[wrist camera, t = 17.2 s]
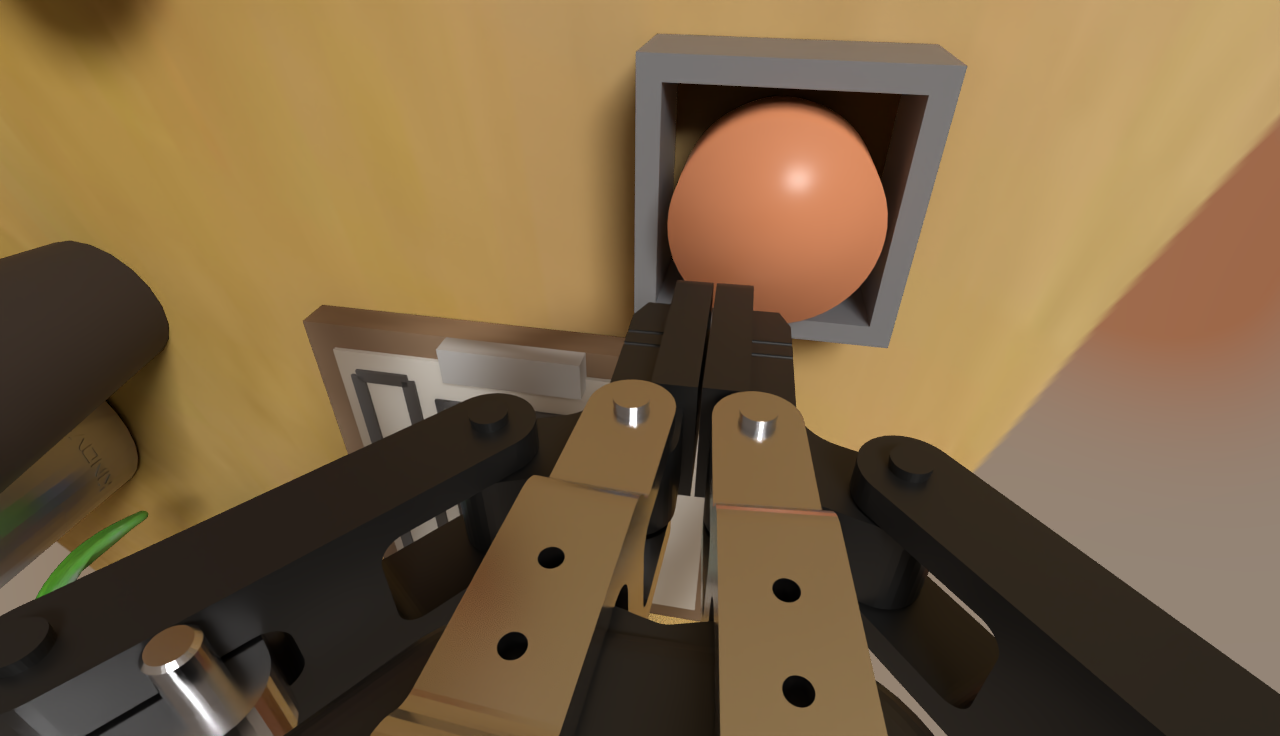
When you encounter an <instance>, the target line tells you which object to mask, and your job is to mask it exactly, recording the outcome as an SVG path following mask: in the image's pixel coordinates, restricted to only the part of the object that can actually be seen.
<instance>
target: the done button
mask: <svg viewBox="0 0 1280 736" xmlns="http://www.w3.org/2000/svg"><path fill="white" fill-rule="evenodd" d="M887 220H888V211H887V203H886V197H885V193H884V190H883V186H882V183H881V181H880V178H879V176H878V173H877V171H876V168H875V165H874V163H873V160H872V158H871V155H870V153H869V151H868V149H867V146H866V144H865V143H864V141H863V139H862V138H861V136H860V135H859V133H858V132H857V131H856V130H855V129H854V128H853V126H852V125H851V124H850V123H849V122H848V121H846V120H845V119H844V118H843V117H842V116H841V115H839V114H838V113H836V112H834V111H833V110H831V109H830V108H828V107H825V106H823V105H821V104H818V103H816V102H813V101H809V100H805V99H802V98H798V97H790V96H773V97H767V98H762V99H758V100H755V101H752V102H750V103H747V104H744V105H742V106H740V107H738V108H735V109H733V110H732V111H730V112H729V113H727V114H725V115H724V116H722V117H721V118H720V119H718V120H717V121H716V122H715V123H713V124H712V125H711V126H710V127H709V128H708V129H707V130H706V131H705V132H704V133H703V134H702V136H701V137H700V139H699V140H698V141H697V143H696V144H695V145H694V147H693V149H692V151H691V153H690V154H689V156H688V159H687V161H686V164H685V166H684V169H683V171H682V173H681V176H680V178H679V181H678V183H677V186H676V188H675V191H674V193H673V196H672V199H671V203H670V207H669V213H668V223H667V224H668V240H669V246H670V250H671V253H672V257H673V260H674V262H675V264H676V266H677V269H678V271H679V273H680V274H681V276H682V277H683V279H684V280H685V281H698V282H711V283H714V291H713V304H712V307H713V308H714V300H715V293H716V286H717V283H725V284H738V285H751V286H754V301H753V311H764V312H777V313H780V315H781V316H782V317H783V318H784V319H785V321H786V322H787V323H792V322H798V321H802V320H805V319H809V318H812V317H815V316H817V315H820V314H822V313H824V312H826V311H828V310H830V309H832V308H833V307H835V306H837V305H838V304H840V303H841V302H843V301H844V300H845V299H847V298H848V297H849V296H850V295H851V294H852V293H854V292H855V291H856V290H857V289H858V288H859V287H860V285H861V284H862V283H863V282H864V281H865V280H866V278H867V277H868V276H869V274H870V273H871V271H872V269H873V268H874V266H875V264H876V262H877V260H878V258H879V256H880V254H881V251H882V248H883V245H884V242H885V237H886V231H887Z"/></svg>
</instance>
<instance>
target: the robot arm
mask: <svg viewBox="0 0 1280 736" xmlns="http://www.w3.org/2000/svg"><path fill="white" fill-rule="evenodd" d="M713 291H714V283H711V282H698V281H685V280H677V282H676V286H675V290H674V294H673V298H672V302H671V304H665V303H653V302H648V303H647V304H646V305H644V306H643V307H642V308H641V309H640V310H638V311H637V312H636V313H635V314H634V315H633V318H632V321H631V323H630V326H629V330H628V332H627V335H626V338H625V341H624V344H623V347H622V349H621V352H620V355H619V358H618V361H617V364H616V367H615V370H614V373H613V375H612V378H611V381H610V383H609V384H606V385H604V386H602V387H600V388H599V389H597V390H596V391H595V392H594V393H593V394H592V395H591V397H590V398H589V400H588V402H587V404H586V406H585V408H584V410H583V411H580V412H577V413H573V414H569V415H563V416H555V417H546V418H538V419H536V413H535V410H534V408H533V407H532V405H531V404H530V403H529V402H528V401H526V400H525V399H523V398H521V397H518V396H515V395H511V394H505V393H491V394H484V395H479V396H476V397H472V398H470V399H467V400H465V401H463V402H461V403H458V404H456V405H454V406H452V407H450V408H448V409H445V410H443V411H441V412H439V413H437V414H435V415H433V416H430V417H428V418H426V419H424V420H422V421H420V422H417V423H415V424H413V425H411V426H409V427H407V428H404V429H402V430H400V431H398V432H396V433H394V434H391V435H389V436H387V437H385V438H383V439H381V440H378V441H376V442H374V443H372V444H370V445H368V446H365V447H363V448H361V449H359V450H357V451H355V452H352V453H350V454H348V455H346V456H344V457H342V458H339V459H337V460H335V461H333V462H331V463H329V464H327V465H324V466H322V467H320V468H318V469H316V470H314V471H311V472H309V473H307V474H305V475H303V476H301V477H298V478H296V479H294V480H292V481H290V482H288V483H285V484H283V485H281V486H279V487H277V488H275V489H272V490H270V491H268V492H266V493H264V494H262V495H259V496H257V497H255V498H253V499H251V500H249V501H246V502H244V503H242V504H240V505H238V506H236V507H234V508H231V509H229V510H227V511H225V512H223V513H221V514H218V515H216V516H214V517H212V518H210V519H208V520H205V521H203V522H201V523H199V524H197V525H195V526H192V527H190V528H188V529H186V530H184V531H182V532H179V533H177V534H175V535H173V536H171V537H169V538H166V539H164V540H162V541H160V542H158V543H156V544H153V545H151V546H149V547H147V548H145V549H143V550H141V551H138V552H136V553H134V554H132V555H130V556H128V557H125V558H123V559H121V560H119V561H117V562H115V563H112V564H110V565H108V566H106V567H104V568H102V569H99V570H97V571H95V572H93V573H91V574H89V575H86V576H84V577H82V578H80V579H78V580H76V581H73V582H71V583H69V584H67V585H65V586H63V587H60V588H58V589H56V590H54V591H52V592H50V593H48V594H45V595H43V596H41V597H39V598H37V599H35V600H32V601H30V602H28V603H26V604H24V605H22V606H19V607H17V608H15V609H13V610H11V611H9V612H8V613H6V614H3V615H2V616H0V736H934V735H933V734H932V732H931V731H930V730H929V729H928V728H927V727H926V725H925V724H924V723H923V722H922V721H921V720H920V719H919V718H918V716H917V715H916V714H915V713H914V712H912V710H910V709H909V708H908V707H907V706H906V705H905V704H904V703H903V702H902V701H901V700H900V699H899V698H898V697H896V696H895V695H894V694H893V693H892V692H890V691H889V690H888V689H887V688H885V687H884V686H883V685H881V684H880V683H879V682H877V681H876V680H875V677H874V672H873V668H872V663H871V659H870V654H869V650H868V648H869V649H870V650H871V652H872V653H873V654H874V655H875V656H876V657H877V658H878V659H879V660H880V662H881V663H882V664H883V665H884V666H885V667H886V668H887V669H888V670H889V671H890V673H891V674H892V675H893V676H894V677H895V678H896V679H897V680H898V681H899V683H901V684H902V686H903V687H904V688H905V689H906V690H907V691H908V692H909V694H910V695H911V696H912V697H913V698H914V699H915V700H916V701H917V702H918V703H919V705H920V706H921V707H922V708H923V709H924V710H925V711H926V712H927V713H928V715H929V716H930V717H931V718H932V719H933V720H934V721H935V722H936V723H937V725H938V726H939V727H940V728H941V729H942V730H943V731H944V732H945V733H946V734H947V735H948V736H1280V694H1279V693H1277V692H1276V691H1275V690H1273V689H1272V688H1271V687H1269V686H1268V685H1266V684H1265V683H1264V682H1262V681H1261V680H1259V679H1258V678H1257V677H1255V676H1254V675H1252V674H1251V673H1250V672H1248V671H1247V670H1246V669H1244V668H1243V667H1241V666H1240V665H1239V664H1237V663H1236V662H1234V661H1233V660H1231V659H1230V658H1229V657H1228V656H1226V655H1225V654H1223V653H1222V652H1221V651H1219V650H1218V649H1216V648H1215V647H1214V646H1212V645H1211V644H1209V643H1208V642H1207V641H1205V640H1204V639H1203V638H1201V637H1200V636H1198V635H1197V634H1196V633H1194V632H1193V631H1191V630H1190V629H1189V628H1187V627H1186V626H1184V625H1183V624H1181V623H1180V622H1179V621H1177V620H1176V619H1175V618H1173V617H1172V616H1171V615H1169V614H1168V613H1166V612H1165V611H1164V610H1162V609H1161V608H1159V607H1158V606H1156V605H1155V604H1154V603H1152V602H1151V601H1150V600H1148V599H1147V598H1145V597H1144V596H1143V595H1141V594H1140V593H1139V592H1137V591H1136V590H1134V589H1133V588H1132V587H1130V586H1129V585H1128V584H1126V583H1125V582H1123V581H1122V580H1121V579H1119V578H1117V577H1116V576H1115V575H1114V574H1112V573H1111V572H1109V571H1108V570H1107V569H1105V568H1104V567H1103V566H1101V565H1100V564H1098V563H1097V562H1096V561H1094V560H1093V559H1091V558H1090V557H1089V556H1087V555H1086V554H1084V553H1083V552H1082V551H1080V550H1079V549H1078V548H1076V547H1075V546H1073V545H1072V544H1070V543H1069V542H1068V541H1066V540H1065V539H1063V538H1062V537H1061V536H1059V535H1058V534H1056V533H1055V532H1054V531H1052V530H1051V529H1050V528H1048V527H1047V526H1046V525H1044V524H1043V523H1041V522H1040V521H1039V520H1037V519H1036V518H1034V517H1033V516H1032V515H1030V514H1029V513H1028V512H1026V511H1025V510H1023V509H1022V508H1021V507H1019V506H1018V505H1016V504H1015V503H1014V502H1012V501H1011V500H1009V499H1008V498H1007V497H1005V496H1004V495H1003V494H1001V493H1000V492H998V491H997V490H996V489H994V488H992V487H991V486H990V485H989V484H987V483H986V482H984V481H983V480H982V479H980V478H979V477H977V476H976V475H975V474H973V473H972V472H971V471H969V470H968V469H966V468H965V467H964V466H962V465H961V464H959V463H958V462H957V461H955V460H954V459H952V458H951V457H950V456H948V455H947V454H946V453H944V452H943V451H941V450H940V449H938V448H936V447H934V446H932V445H930V444H928V443H926V442H923V441H921V440H917V439H914V438H910V437H904V436H882V437H877V438H874V439H871V440H870V441H868V442H866V443H865V444H864V445H863V446H862V447H861V448H860V450H859V452H856V451H853V450H850V449H847V448H844V447H841V446H838V445H836V444H833V443H830V442H828V441H826V440H824V439H822V438H820V437H819V436H817V435H815V434H814V433H813V432H811V431H810V430H809V429H808V428H807V427H806V426H805V422H804V419H803V416H802V414H801V413H800V411H799V410H798V409H797V408H796V398H795V383H794V367H793V351H792V336H791V327H790V326H789V324H788V323H787V322H786V321H785V319H784V318H783V317H782V316H781V315H780V313H777V312H764V311H753V301H754V286H751V285H738V284H725V283H717V286H716V293H715V300H714V308H713V315H712V304H713ZM711 317H712V322H711ZM698 436H699V440H698ZM697 443H698V453H697V467H696V481H695V494H694V497H702V498H705V501H704V512H703V524H702V536H701V622H696V623H685V624H674V625H665V624H659V623H656V622H654V621H651V620H649V619H648V616H649V612H650V608H651V605H652V601H653V597H654V593H655V589H656V585H657V581H658V578H659V574H660V570H661V566H662V562H663V558H664V554H665V551H666V547H667V543H668V539H669V535H670V529H671V519H672V517H673V516H674V512H675V508H676V502H677V495H684V496H691V488H692V481H693V473H694V466H695V458H696V451H697ZM137 464H138V455H137V451H136V446H135V443H134V441H133V439H132V437H131V435H130V433H129V431H128V429H127V427H126V426H125V425H124V423H123V422H122V420H121V419H120V417H119V416H118V415H117V413H116V412H115V411H114V410H113V409H112V408H111V407H110V406H109V404H108V403H107V402H106V401H104V402H103V403H102V404H101V405H100V406H99V407H98V408H96V409H95V410H94V411H93V412H92V413H91V414H90V415H89V416H87V417H86V418H85V419H84V420H83V421H82V422H81V423H80V424H78V425H77V426H76V427H75V428H74V429H73V430H72V431H71V432H69V433H68V434H67V435H66V436H65V437H64V438H63V439H62V440H60V441H59V442H58V443H57V444H56V445H55V446H54V447H53V448H51V449H50V450H49V451H48V452H47V453H46V454H45V455H44V456H42V457H41V458H40V459H39V460H38V461H37V462H36V463H35V464H33V465H32V466H31V467H30V468H29V469H28V470H27V471H26V472H24V473H23V474H22V475H21V476H20V477H19V478H18V479H16V480H15V481H14V482H13V483H12V484H11V485H10V486H9V487H7V488H6V489H5V490H4V491H3V492H2V493H1V494H0V588H1V587H3V586H4V585H5V584H6V583H7V582H9V581H10V580H11V579H12V578H13V577H14V576H16V575H17V574H18V573H19V572H20V571H22V570H23V569H24V568H25V567H26V566H27V565H29V564H30V563H31V562H32V561H33V560H35V559H36V558H37V557H38V556H39V555H40V554H41V553H43V552H44V551H45V550H46V549H48V548H49V547H50V546H51V545H52V544H53V543H55V542H56V541H57V540H58V539H60V538H61V537H62V536H63V535H64V534H65V533H67V532H68V531H69V530H70V529H71V528H73V527H74V526H75V525H76V524H77V523H78V522H80V521H81V520H82V519H83V518H84V517H86V516H87V515H88V514H89V513H90V512H91V511H93V510H94V509H95V508H96V507H97V506H99V505H100V504H101V503H102V502H103V501H105V500H106V499H107V498H108V497H109V496H110V495H112V494H113V493H114V492H115V491H116V490H118V489H119V488H120V487H121V486H122V485H123V484H125V483H126V482H127V481H128V480H129V479H131V478H132V477H133V475H134V473H135V471H136V470H137ZM459 503H460V505H461V510H462V515H460V516H458V517H456V518H455V519H453V520H451V521H449V522H448V523H446V524H444V525H442V526H441V527H439V528H437V529H435V530H434V531H432V532H430V533H428V534H427V535H425V536H423V537H421V538H420V539H418V540H416V541H414V542H413V543H411V544H409V545H408V546H406V547H404V548H402V549H401V550H399V551H397V552H395V553H394V554H392V555H390V556H388V557H387V558H385V559H383V556H384V553H385V552H386V550H387V549H388V547H389V546H390V545H391V544H392V543H393V542H394V541H395V540H396V539H398V538H399V537H400V536H402V535H404V534H406V533H407V532H409V531H411V530H413V529H414V528H416V527H418V526H420V525H422V524H423V523H425V522H427V521H429V520H430V519H432V518H434V517H436V516H438V515H439V514H441V513H443V512H445V511H447V510H448V509H450V508H452V507H454V506H455V505H457V504H459ZM382 559H383V560H382ZM928 572H930V573H932V574H933V575H934V576H935V577H936V578H937V579H938V580H939V581H941V582H942V583H943V584H944V585H945V586H946V587H947V588H948V589H949V590H950V591H952V592H953V593H954V594H955V595H956V596H957V597H958V598H959V599H960V600H962V601H963V602H964V603H965V604H966V605H967V606H968V607H969V608H970V609H972V610H973V611H974V612H975V613H976V614H977V615H978V616H979V617H980V618H981V619H982V620H983V621H984V622H985V623H986V624H987V625H988V627H989V628H990V630H991V631H992V633H993V634H994V636H995V637H994V636H993V635H991V634H990V633H989V632H988V631H987V630H986V629H985V628H984V627H983V626H982V625H981V624H980V623H978V622H977V621H976V620H975V619H974V618H973V617H972V616H971V615H970V614H969V613H967V612H966V611H965V610H964V609H963V608H962V607H961V606H960V605H959V604H957V603H956V602H955V601H954V600H953V599H952V598H951V597H950V596H949V595H948V594H947V593H945V592H944V591H943V590H942V589H941V588H940V587H939V586H938V585H937V584H936V583H935V582H933V581H932V580H931V579H930V578H929V577H928V576H927V575H928Z"/></svg>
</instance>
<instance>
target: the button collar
mask: <svg viewBox="0 0 1280 736" xmlns="http://www.w3.org/2000/svg"><path fill="white" fill-rule="evenodd" d="M966 69H967V65H965V64H964V63H963V62H961V61H960V60H959V59H957V58H956V57H955V56H953V55H952V54H951V53H949V52H948V51H947V50H945V49H944V48H943V47H941V46H940V45H938V44H915V43H889V42H863V41H836V40H810V39H783V38H757V37H731V36H704V35H678V34H656V35H655V36H654V37H653V38H652V39H650V40H649V41H648V42H647V43H646V44H645V45H643V46H642V47H641V48H640V49H639V50H638V51H636V116H635V267H634V314H635V313H636V312H637V311H638V310H640V309H641V308H642V307H643V306H644V305H646V304H647V303H648V302H653V303H665V304H671V302H672V298H673V294H674V290H675V286H676V282H677V280H684V279H683V277H682V276H681V274H680V273H679V271H678V269H677V266H676V264H675V262H674V260H670V259H671V250H670V246H669V240H668V224H667V223H668V213H669V207H670V203H671V199H672V196H673V188H674V165H675V141H676V117H677V94H678V83H689V84H710V85H730V86H751V87H771V88H791V89H812V90H832V91H853V92H873V93H894V94H901V96H900V101H899V105H898V109H897V114H896V118H895V122H894V127H893V131H892V135H891V139H890V144H889V148H888V152H887V157H886V161H885V165H884V170H883V174H882V178H881V183H882V186H883V190H884V193H885V197H886V203H887V211H888V220H887V231H886V237H885V242H884V245H883V248H882V251H881V254H880V256H879V258H878V260H877V262H876V264H875V266H874V268H873V269H872V271H871V273H870V274H869V276H868V277H867V278H866V280H865V281H864V282H863V283H862V284H861V285H860V287H859V288H858V289H857V290H856V291H855V292H854V293H852V294H851V295H850V296H849V297H848V298H847V299H845V300H844V301H843V302H841V303H840V304H838V305H837V306H835V307H833V308H832V309H830V310H828V311H826V312H824V313H822V314H820V315H817V316H815V317H812V318H809V319H805V320H802V321H798V322H792V323H788V324H789V326H790V327H791V336H792V338H794V339H804V340H814V341H823V342H833V343H842V344H852V345H862V346H871V347H881V348H888V345H889V342H890V338H891V335H892V331H893V328H894V324H895V321H896V317H897V314H898V310H899V306H900V303H901V299H902V296H903V292H904V289H905V285H906V282H907V278H908V274H909V271H910V267H911V264H912V260H913V257H914V253H915V250H916V246H917V243H918V239H919V235H920V232H921V228H922V225H923V221H924V218H925V214H926V211H927V207H928V204H929V200H930V196H931V193H932V189H933V186H934V182H935V179H936V175H937V172H938V168H939V164H940V161H941V157H942V154H943V150H944V147H945V143H946V140H947V136H948V133H949V129H950V125H951V122H952V118H953V115H954V111H955V108H956V104H957V101H958V97H959V94H960V90H961V86H962V83H963V79H964V76H965V72H966ZM712 315H713V307H712ZM711 322H712V317H711Z"/></svg>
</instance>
